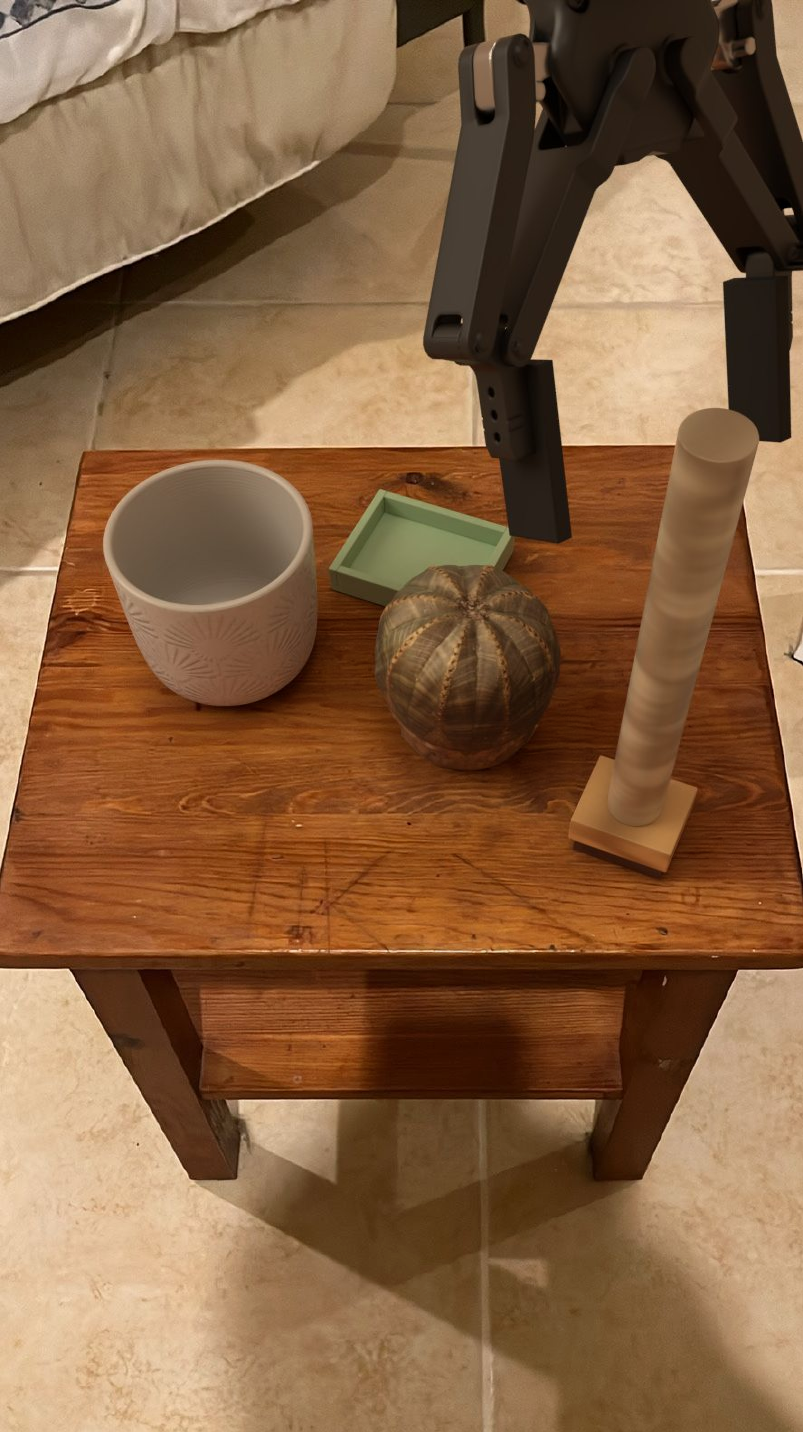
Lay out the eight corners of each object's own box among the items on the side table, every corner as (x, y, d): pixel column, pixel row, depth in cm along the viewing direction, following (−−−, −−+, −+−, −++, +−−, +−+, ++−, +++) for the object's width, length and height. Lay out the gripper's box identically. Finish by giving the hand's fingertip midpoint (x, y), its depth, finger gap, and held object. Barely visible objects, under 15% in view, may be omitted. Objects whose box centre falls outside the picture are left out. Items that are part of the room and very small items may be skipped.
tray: (514, 550, 89) (515, 528, 87) (468, 633, 85) (468, 613, 84) (380, 509, 91) (379, 488, 90) (330, 589, 88) (328, 568, 86)
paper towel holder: (688, 820, 77) (809, 413, 52) (662, 886, 75) (775, 495, 49) (594, 788, 79) (666, 376, 53) (565, 851, 76) (626, 454, 51)
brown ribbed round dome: (360, 784, 79) (347, 657, 69) (402, 650, 85) (396, 514, 74) (533, 816, 78) (547, 691, 67) (565, 677, 83) (582, 542, 73)
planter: (336, 586, 88) (323, 461, 78) (315, 732, 81) (298, 615, 72) (158, 579, 89) (124, 454, 79) (123, 722, 82) (82, 605, 73)
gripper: (754, -149, 51) (769, 400, 62) (239, -98, 39) (368, 571, 50) (927, -206, 46) (911, 407, 56) (391, -167, 34) (500, 601, 44)
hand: (657, 485), depth 53 cm, fingers open, 13 cm apart
